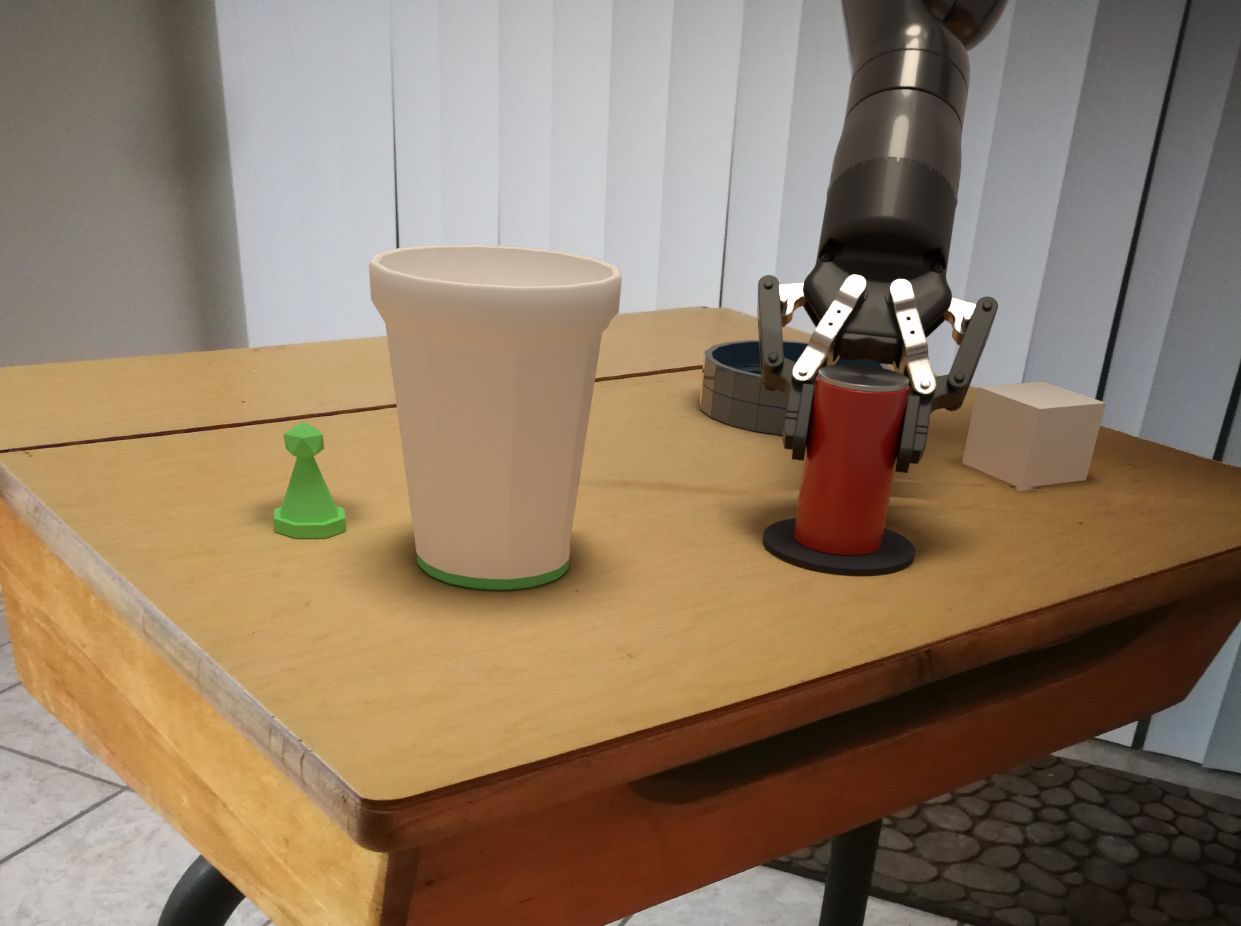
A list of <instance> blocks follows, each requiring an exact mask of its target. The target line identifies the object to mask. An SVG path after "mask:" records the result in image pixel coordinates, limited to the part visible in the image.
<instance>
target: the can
mask: <svg viewBox="0 0 1241 926" xmlns="http://www.w3.org/2000/svg"><path fill="white" fill-rule="evenodd" d="M909 389H910V386H909V379H908V378H907V377H906V376H905V375H903V374H901V373H898V372H895V370H892V369H891V370H888V369H884V368H878V367H872V366H864V365H831V366H826V367H823V368H821V369H820V370H819V372H818V375H817V376H816V380H815V387H814V395H813V402H812V409H811V416H810V423H809V430H808V437H807V444H806V450H805V456H804V461H803V464H802V472H801V478H800V486H799V493H798V499H797V507H796V515H795V518H796V521H795V528H794V538H795V540H796V541H797V542H798V543H800V544H801V545H803V546H805V547H807V548H810V549H812V550H815V551H819V552H823V553H828V554H834V555H847V556H854V555H865V554H869V553H873V552H875V551H877V550H878V549H879V548H880V547H881V543H882V538H883V532H884V528H886V521H887V516H888V511H889V504H890V498H891V493H892V487H893V483H894V482H893V481H894V475H895V468H896V461H897V455H898V449H899V444H900V438H901V432H902V427H903V421H904V416H905V410H906V405H907V400H908V394H909Z"/></svg>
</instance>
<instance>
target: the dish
mask: <svg viewBox="0 0 1241 926" xmlns="http://www.w3.org/2000/svg"><path fill="white" fill-rule="evenodd" d="M809 342H810V341H808V342H807V341H798V340H784V339H783V350H784V357H785V358H787V359H790V360H792V361H794V362H797V361H798V359H799V358H800V356H801V355H802V353H803V352H804V350H805V349H806V347H807V346H808V344H809ZM835 365H864V366H872V367H878V368H884V369H888V370H892V367H890V364H880V363H877V362H874V361H871V360H868V359H861V360H853V361H852V360H842V359H838V361H837V363H836V364H835ZM701 369H702V370H701V380H700V391H699V401H698V402H699V409H700V410H701V412H703V413H704V414H706V415H707V416H708V417H710V418H712V419H713V420H716V421H718V422H721V423H724V424H727V425H728V426H732V427H736V428H739V429H740V428H741V429H743V430H746V431H747V430H748V431H752V432H757V433H763V434H770V435H776V436H783V426H784V420H785V414H786V408H787V402H788V398H787V396H786V395H785V394H784V393H783V392H781V391H779V390H775V391H768V390H766V389H765V388H764V387H763V386H762V381H761V365H760V348H759V339H746V340H745V339H743V340H735V341H734V340H733V341H727V342H721V343H718V344H713V345H711V346H710V347H708V348H707V349H705V350H704V351H703V358H702V368H701Z"/></svg>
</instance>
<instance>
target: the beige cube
mask: <svg viewBox="0 0 1241 926" xmlns="http://www.w3.org/2000/svg"><path fill="white" fill-rule="evenodd" d="M1106 404H1107V402H1105V401H1102V400H1099V399H1096V398H1093V397H1090V396H1087V395H1085V394H1080V393H1078V392H1075V391H1072V390H1069V389H1067V388H1063V387H1060V386H1057V385H1054V384H1051V383H1048V382H1045V381H1032V382H1020V383H1018V382H1017V383H1006V384H993V385H983V386H977V389H976V394H975V399H974V402H973V409H972V413H971V418H970V422H969V427H968V432H967V437H966V442H965V446H964V450H963V451H964V452H963V456H962V461H961V463H962V464H963V465H966V466H968V467H971V468H973V469H976V470H977V471H979V472H982V473H985V474H987V475H989V476H992V477H994V478H996V479H999V480H1001V481H1003V482H1005V483H1008V484H1010V485H1008V487H1009V488H1012V489H1013V490H1016V491H1019V492H1028V491H1035V490H1042V489H1044V486H1049V485H1050V486H1051V485H1058V484H1067V483H1074V482H1081V481H1087V477H1088V474H1089V470H1090V466H1091V462H1092V460H1093V459H1092V458H1093V455H1094V451H1095V447H1096V444H1097V439H1098V436H1099V432H1100V428H1101V424H1102V420H1103V417H1104V413H1105V408H1106ZM1042 486H1043V487H1042Z"/></svg>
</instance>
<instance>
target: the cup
mask: <svg viewBox="0 0 1241 926" xmlns="http://www.w3.org/2000/svg"><path fill="white" fill-rule="evenodd" d="M368 273H369V274H368V275H369V288H370V289H369V291H370V301H371V302H372V304H373V305H374V307H375V309H376V310H377V312H378V314H379V315H380V317H381V319H382V320H383V322H384V324H385V325H384V326H385V332H386V338H387V346H388V353H389V362H390V368H391V369H390V370H391V376H392V383H393V390H394V391H393V392H394V398H395V405H396V413H397V419H398V427H399V435H400V441H401V449H402V455H403V463H404V470H405V479H406V484H407V485H406V487H407V492H408V499H409V500H408V501H409V507H410V514H411V515H410V516H411V523H412V528H413V537H414V544H415V551H416V562H417V564H418V566H419V567H420V569H422V570H423V572H425V573H426V574H427V575H429V576H430V577H432V578H435V579H436V580H439V581H441V582H444V583H446V584H448V585H453V586H457V587H462V588H469V589H475V590H487V591H488V590H489V591H512V590H513V591H514V590H523V589H529V588H536V587H538V586H543V585H546V584H549V583H551V582H555V581H557V580H558V579H559V578H560V577H562V576H563V575H564V574H565V573H566V572H567V571H568V570H569V566H570V552H571V550H570V549H571V548H570V546H571V538H572V533H573V525H574V519H575V514H576V513H575V512H576V505H577V500H578V493H579V486H580V481H581V480H580V479H581V473H582V467H583V460H584V454H585V447H586V440H587V435H588V429H589V428H588V427H589V422H590V415H591V409H592V401H593V394H594V388H595V382H596V375H597V369H598V363H599V357H600V349H601V344H602V336H603V333H604V332H605V330H607V329H608V328H609V326H610V323H611V322H612V320H613V319H614V318H615V317H616V316H617V315H618V314H619V313H620V305H621V304H620V302H621V293H622V281H623V277H622V274H621V270H620V268H619V267H618V266H616V265H613V264H611V263H610V262H609V263H608V262H606V261H603V260H601V259H598V258H595V257H589V256H584V255H580V254H576V253H571V252H567V251H558V250H551V249H550V250H549V249H540V248H533V247H525V246H508V245H491V244H432V245H419V246H410V247H409V246H408V247H398V248H394V249H390V250H386V251H382V252H379V253H375V255H374V256H373V257H372V259H371V260H370V262H369V263H368Z"/></svg>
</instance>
